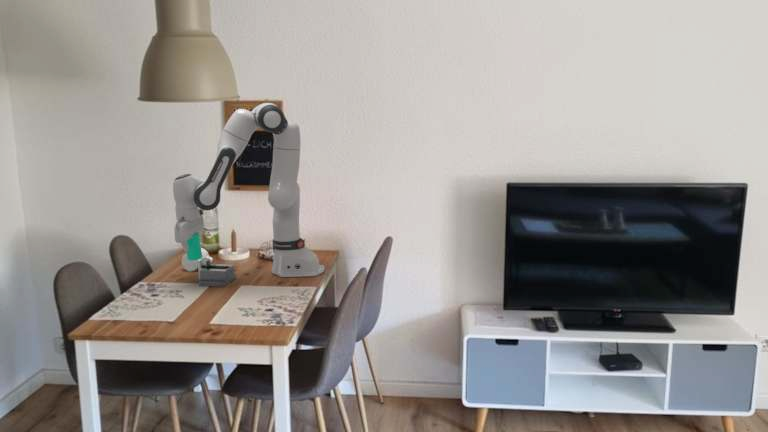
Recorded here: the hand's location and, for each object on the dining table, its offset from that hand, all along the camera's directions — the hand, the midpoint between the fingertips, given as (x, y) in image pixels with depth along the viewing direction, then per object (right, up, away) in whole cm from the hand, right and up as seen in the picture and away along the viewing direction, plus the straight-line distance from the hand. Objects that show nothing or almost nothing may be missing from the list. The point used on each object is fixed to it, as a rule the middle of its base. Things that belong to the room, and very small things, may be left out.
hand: (191, 247), depth 305 cm
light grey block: (+8, -12, +1) cm, 15 cm away
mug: (-2, -10, +21) cm, 23 cm away
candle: (+1, -5, +3) cm, 5 cm away
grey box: (+10, -14, +1) cm, 17 cm away
